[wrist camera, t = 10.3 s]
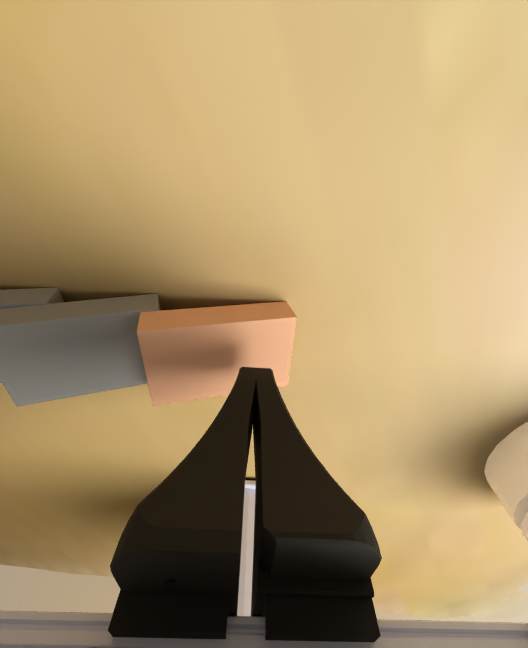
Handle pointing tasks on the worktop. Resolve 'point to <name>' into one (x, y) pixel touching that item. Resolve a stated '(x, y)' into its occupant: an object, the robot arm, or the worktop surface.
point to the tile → (213, 348)
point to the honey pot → (511, 475)
